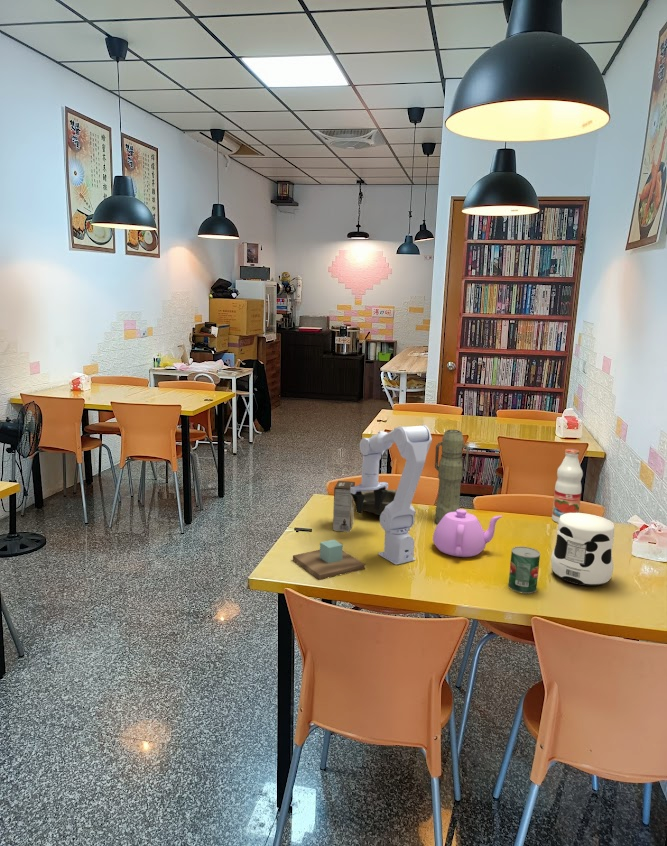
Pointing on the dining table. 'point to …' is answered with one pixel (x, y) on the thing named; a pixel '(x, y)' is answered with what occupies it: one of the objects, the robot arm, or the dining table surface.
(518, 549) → the canned tomato
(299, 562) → the walnut board
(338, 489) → the coffee box
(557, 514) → the fruit juice
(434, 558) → the dining table surface
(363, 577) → the dining table surface
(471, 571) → the dining table surface
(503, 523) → the dining table surface
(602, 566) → the milk container
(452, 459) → the thermos
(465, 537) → the teapot
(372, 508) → the stone bowl
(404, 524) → the robot arm
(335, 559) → the teal cube
